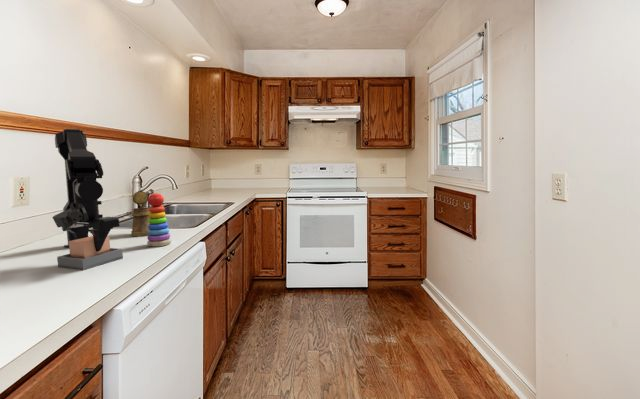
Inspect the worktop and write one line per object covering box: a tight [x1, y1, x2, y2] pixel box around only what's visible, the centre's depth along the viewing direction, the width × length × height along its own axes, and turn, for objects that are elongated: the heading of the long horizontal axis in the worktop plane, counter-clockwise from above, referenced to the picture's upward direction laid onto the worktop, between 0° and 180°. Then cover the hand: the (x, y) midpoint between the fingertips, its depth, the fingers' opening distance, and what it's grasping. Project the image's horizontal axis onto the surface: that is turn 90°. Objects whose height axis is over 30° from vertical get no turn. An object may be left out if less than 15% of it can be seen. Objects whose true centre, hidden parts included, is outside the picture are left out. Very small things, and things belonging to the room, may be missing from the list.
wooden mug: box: [130, 190, 151, 237], centre depth 144 cm, size 9×14×18 cm, turn 27°
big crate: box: [56, 247, 124, 271], centre depth 102 cm, size 10×12×3 cm
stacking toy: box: [146, 192, 172, 248], centre depth 123 cm, size 8×8×19 cm
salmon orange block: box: [68, 235, 111, 258], centre depth 102 cm, size 6×8×4 cm
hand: (90, 250), depth 102 cm, fingers closed on salmon orange block, 6 cm apart
